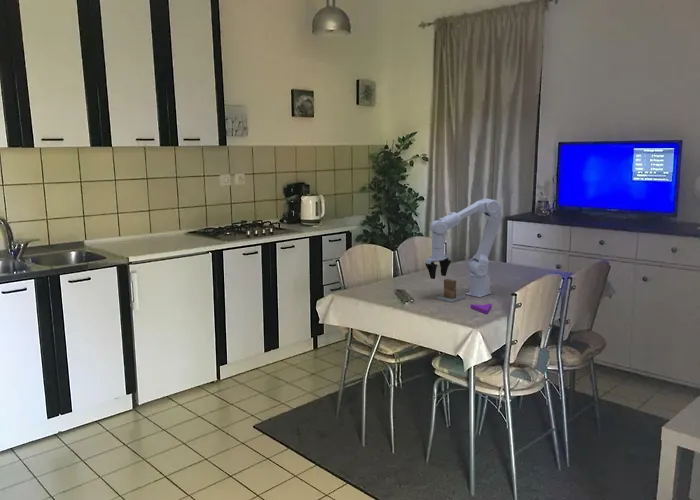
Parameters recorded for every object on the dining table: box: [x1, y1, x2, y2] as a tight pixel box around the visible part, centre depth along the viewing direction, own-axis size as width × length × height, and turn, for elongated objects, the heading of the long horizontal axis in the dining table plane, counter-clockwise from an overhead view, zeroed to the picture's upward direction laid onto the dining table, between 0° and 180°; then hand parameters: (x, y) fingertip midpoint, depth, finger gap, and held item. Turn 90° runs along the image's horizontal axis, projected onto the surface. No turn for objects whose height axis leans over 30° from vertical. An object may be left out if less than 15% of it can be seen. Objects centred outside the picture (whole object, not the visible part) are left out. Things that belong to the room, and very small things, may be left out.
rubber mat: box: [433, 294, 466, 303], centre depth 264 cm, size 10×10×1 cm
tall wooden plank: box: [443, 278, 457, 299], centre depth 263 cm, size 2×5×8 cm, turn 42°
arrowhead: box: [470, 303, 492, 315], centre depth 246 cm, size 10×2×10 cm
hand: (438, 277), depth 264 cm, fingers open, 7 cm apart
